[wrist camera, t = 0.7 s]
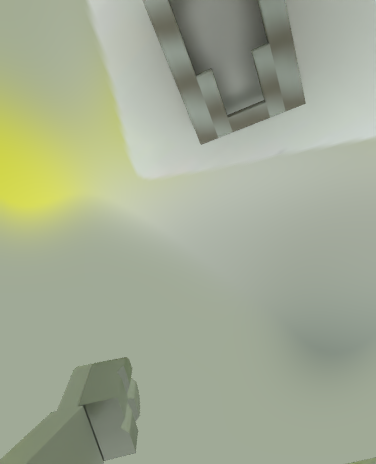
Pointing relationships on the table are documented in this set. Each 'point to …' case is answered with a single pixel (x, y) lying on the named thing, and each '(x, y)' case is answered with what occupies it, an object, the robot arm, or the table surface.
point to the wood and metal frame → (204, 85)
